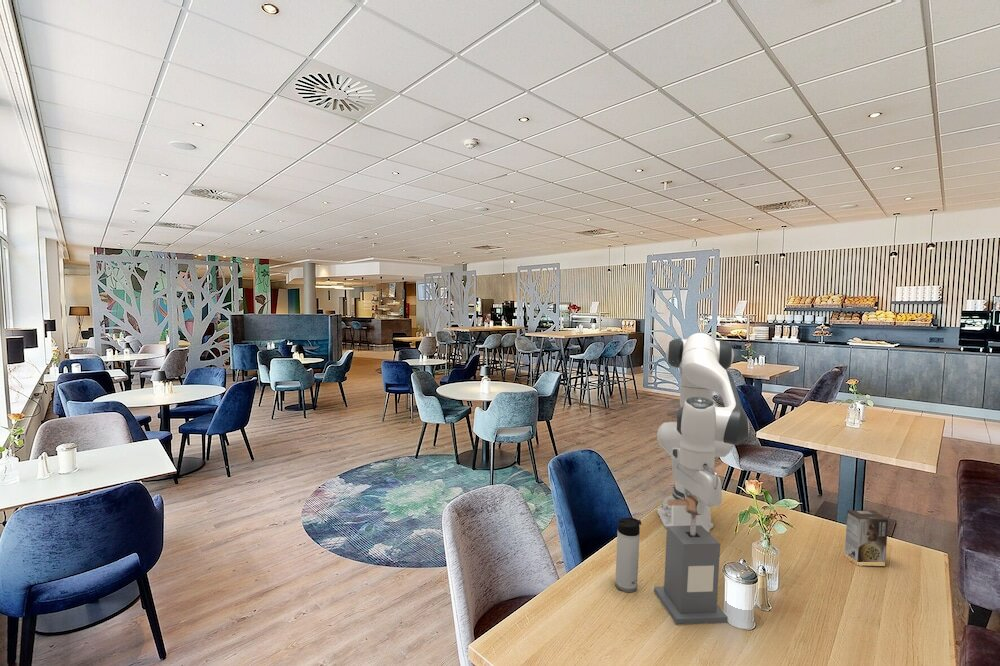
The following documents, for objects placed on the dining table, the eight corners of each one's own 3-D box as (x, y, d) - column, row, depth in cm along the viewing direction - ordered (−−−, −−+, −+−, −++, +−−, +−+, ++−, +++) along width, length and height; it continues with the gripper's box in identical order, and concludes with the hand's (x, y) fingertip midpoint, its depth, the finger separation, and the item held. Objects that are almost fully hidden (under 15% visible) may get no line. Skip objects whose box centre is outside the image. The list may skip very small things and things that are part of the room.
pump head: (661, 564, 131) (664, 495, 130) (694, 563, 132) (698, 495, 130) (668, 573, 127) (672, 502, 125) (702, 572, 127) (706, 501, 126)
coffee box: (870, 556, 159) (874, 510, 158) (885, 567, 152) (889, 519, 151) (843, 555, 159) (846, 509, 158) (856, 566, 152) (860, 518, 151)
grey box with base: (653, 591, 136) (657, 522, 135) (700, 590, 138) (703, 521, 136) (676, 624, 123) (680, 548, 121) (727, 622, 124) (731, 547, 122)
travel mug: (639, 594, 135) (642, 526, 134) (615, 590, 136) (618, 523, 135) (637, 581, 141) (640, 516, 140) (614, 578, 143) (617, 514, 141)
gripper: (730, 472, 117) (726, 526, 118) (689, 446, 138) (687, 493, 139) (705, 472, 117) (702, 526, 118) (668, 447, 137) (666, 493, 138)
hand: (694, 508), depth 128 cm, fingers closed on pump head, 4 cm apart
